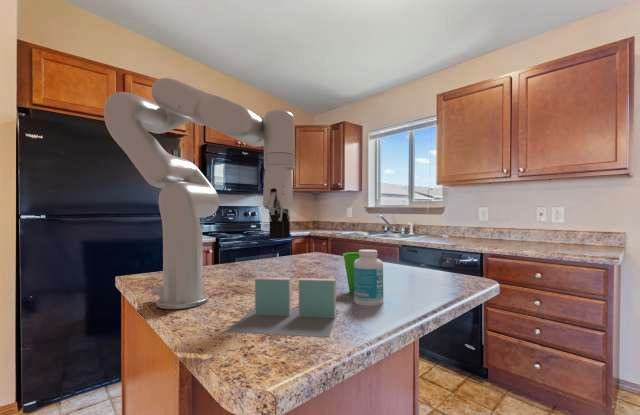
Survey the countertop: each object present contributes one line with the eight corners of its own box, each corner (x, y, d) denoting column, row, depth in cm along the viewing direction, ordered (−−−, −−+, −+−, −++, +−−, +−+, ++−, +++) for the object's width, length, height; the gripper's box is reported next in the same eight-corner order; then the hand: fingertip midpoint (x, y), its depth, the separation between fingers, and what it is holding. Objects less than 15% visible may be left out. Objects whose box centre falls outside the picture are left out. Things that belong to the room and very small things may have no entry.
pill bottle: (383, 308, 74) (382, 252, 75) (352, 307, 76) (351, 251, 76) (383, 300, 82) (382, 248, 82) (355, 299, 83) (354, 248, 83)
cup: (379, 290, 92) (378, 253, 92) (366, 298, 84) (365, 257, 84) (351, 287, 96) (351, 251, 97) (337, 293, 89) (336, 255, 89)
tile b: (298, 316, 68) (298, 279, 68) (300, 314, 69) (299, 278, 69) (335, 318, 66) (334, 280, 66) (336, 315, 68) (335, 279, 68)
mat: (225, 334, 59) (225, 331, 59) (255, 309, 75) (255, 306, 75) (328, 340, 56) (328, 337, 56) (338, 312, 72) (337, 309, 72)
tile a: (254, 314, 69) (254, 278, 69) (257, 312, 71) (257, 277, 71) (289, 316, 68) (289, 279, 68) (291, 313, 69) (291, 278, 70)
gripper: (275, 168, 85) (275, 235, 85) (251, 157, 68) (252, 240, 68) (302, 167, 84) (302, 235, 83) (284, 156, 67) (285, 240, 67)
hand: (280, 236), depth 76 cm, fingers open, 5 cm apart
